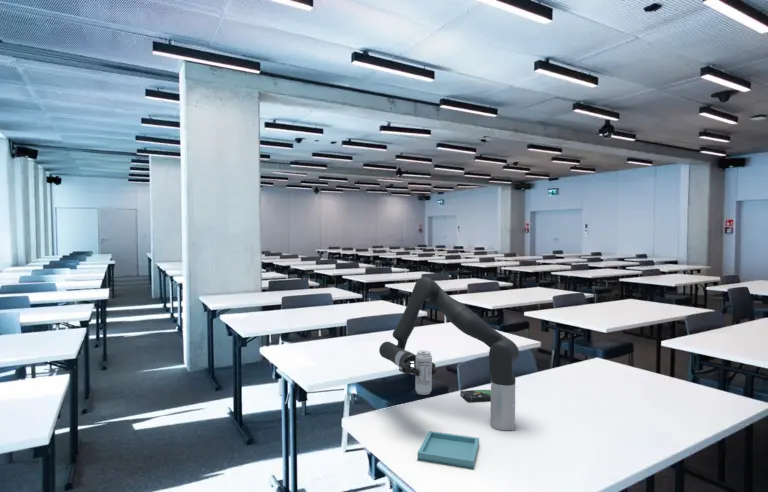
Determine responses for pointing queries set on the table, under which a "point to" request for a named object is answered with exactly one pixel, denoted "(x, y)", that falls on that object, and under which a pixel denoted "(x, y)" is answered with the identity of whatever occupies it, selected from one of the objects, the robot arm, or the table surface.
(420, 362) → the energy drink can
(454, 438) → the tray
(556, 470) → the table surface
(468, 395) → the disk drive
